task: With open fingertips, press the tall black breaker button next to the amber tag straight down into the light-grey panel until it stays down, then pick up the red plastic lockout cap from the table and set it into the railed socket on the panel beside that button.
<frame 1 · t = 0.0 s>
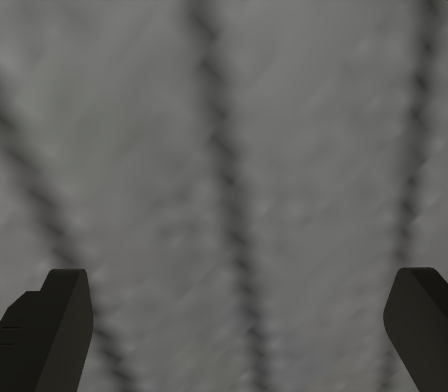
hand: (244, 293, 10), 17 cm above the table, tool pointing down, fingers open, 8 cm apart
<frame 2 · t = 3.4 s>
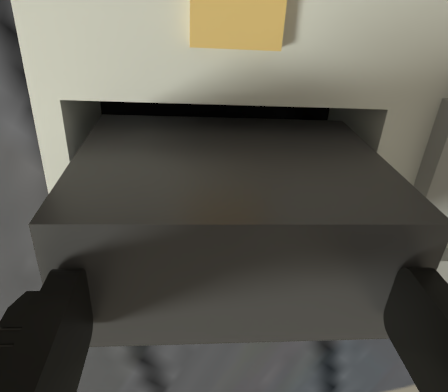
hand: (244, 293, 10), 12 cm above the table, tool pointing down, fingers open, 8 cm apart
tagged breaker: (231, 209, 13), point 8 cm above the table, slide at 0.1 cm, touching gripper
panel: (377, 132, 21), on the table
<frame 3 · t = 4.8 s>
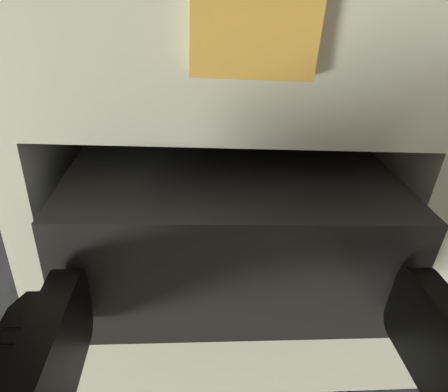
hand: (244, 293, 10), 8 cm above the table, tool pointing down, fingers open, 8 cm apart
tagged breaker: (230, 209, 14), point 4 cm above the table, slide at 4.1 cm
panel: (411, 164, 18), on the table
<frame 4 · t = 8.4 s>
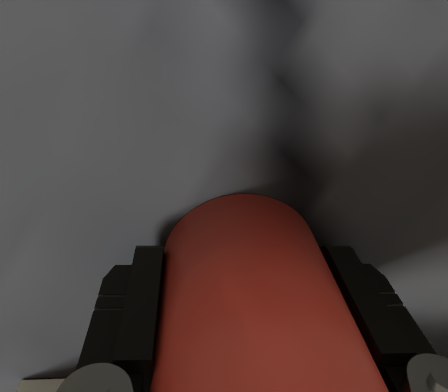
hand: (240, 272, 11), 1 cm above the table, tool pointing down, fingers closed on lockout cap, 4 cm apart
lockout cap: (239, 260, 11), on the table, touching gripper
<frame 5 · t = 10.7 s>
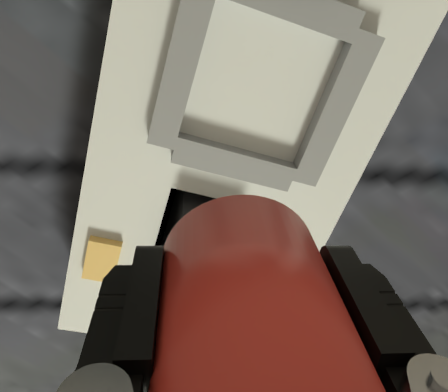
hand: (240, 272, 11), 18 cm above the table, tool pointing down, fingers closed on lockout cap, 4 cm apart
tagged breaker: (192, 258, 27), point 4 cm above the table, slide at 4.1 cm
lockout cap: (238, 260, 11), point 18 cm above the table, touching gripper
panel: (224, 123, 27), on the table
when the fingers open (8 cm above the table, at t = 13.2 s): lockout cap drops 1 cm, resting on panel.
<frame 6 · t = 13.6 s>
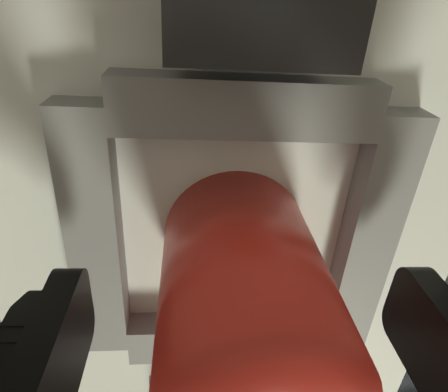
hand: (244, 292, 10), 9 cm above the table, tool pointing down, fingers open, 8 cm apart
lockout cap: (234, 232, 12), point 6 cm above the table, touching panel
panel: (217, 230, 20), on the table
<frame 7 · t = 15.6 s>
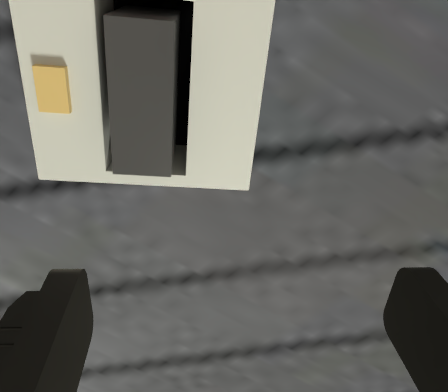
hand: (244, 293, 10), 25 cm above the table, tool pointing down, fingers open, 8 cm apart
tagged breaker: (148, 88, 28), point 4 cm above the table, slide at 4.1 cm
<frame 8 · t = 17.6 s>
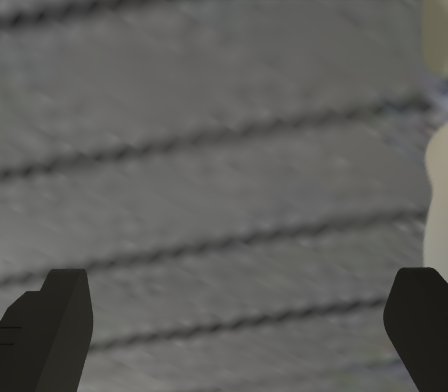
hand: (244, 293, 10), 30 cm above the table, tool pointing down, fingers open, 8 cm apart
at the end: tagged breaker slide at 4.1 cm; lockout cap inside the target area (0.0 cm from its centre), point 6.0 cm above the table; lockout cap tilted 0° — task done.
